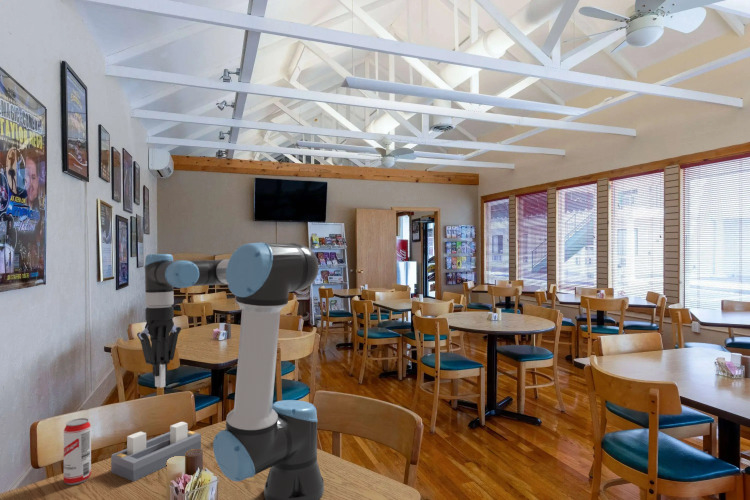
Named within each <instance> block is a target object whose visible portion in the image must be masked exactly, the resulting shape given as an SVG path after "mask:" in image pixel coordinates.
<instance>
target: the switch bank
mask: <svg viewBox="0 0 750 500" xmlns="http://www.w3.org/2000/svg"><path fill="white" fill-rule="evenodd" d="M191 449H201V450H202V434H201V433H199V432H195V431H191V430H188V438H185V439H183V440H181V441H178V442H176V443H174V444H171V445H170V431H168V432H166V433H163V434H160V435H158V436H155V437H152V438H150V439H146V449H144V450H141V451H139V452H137V453H134V454H132V455H129V456H128V455H127V448H125V449H122V450H119V451H118V452H114V453H112V454H111V455H110V457H111V458H110V459H111V460H110V461H111V463H110V464H111V466H110V467H111V468H110V470H111V473H112V474H115V475H116V476H119V477H122V478H124V479H126V480H127V481H128V480H129V481H131V482H137V481H138V480H140V479H142V478H144V477H146V476H149V475H151V474H154V472H155V473H156V472H157V471H159V470H162V469H164V468H166V467H167V466H166V462H167V460H168V459H169V458H171V457H174V456H185V453H186V452H187V451H189V450H191Z"/></svg>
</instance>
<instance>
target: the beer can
mask: <svg viewBox="0 0 750 500" xmlns="http://www.w3.org/2000/svg"><path fill="white" fill-rule="evenodd" d="M65 424H66V425H65V427H64V429H63V482H64V483H65V484H66V485H69V486H74V485H79V484H82V483H84V482H86V481H87V480H88V479H89V478H90V477H91V475H92V427H91V426H92V425H91V423H90V422H89V418H87V417H86V418H85V417H79V418H74V419H72V420H69V421H67V422H66V423H65Z"/></svg>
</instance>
